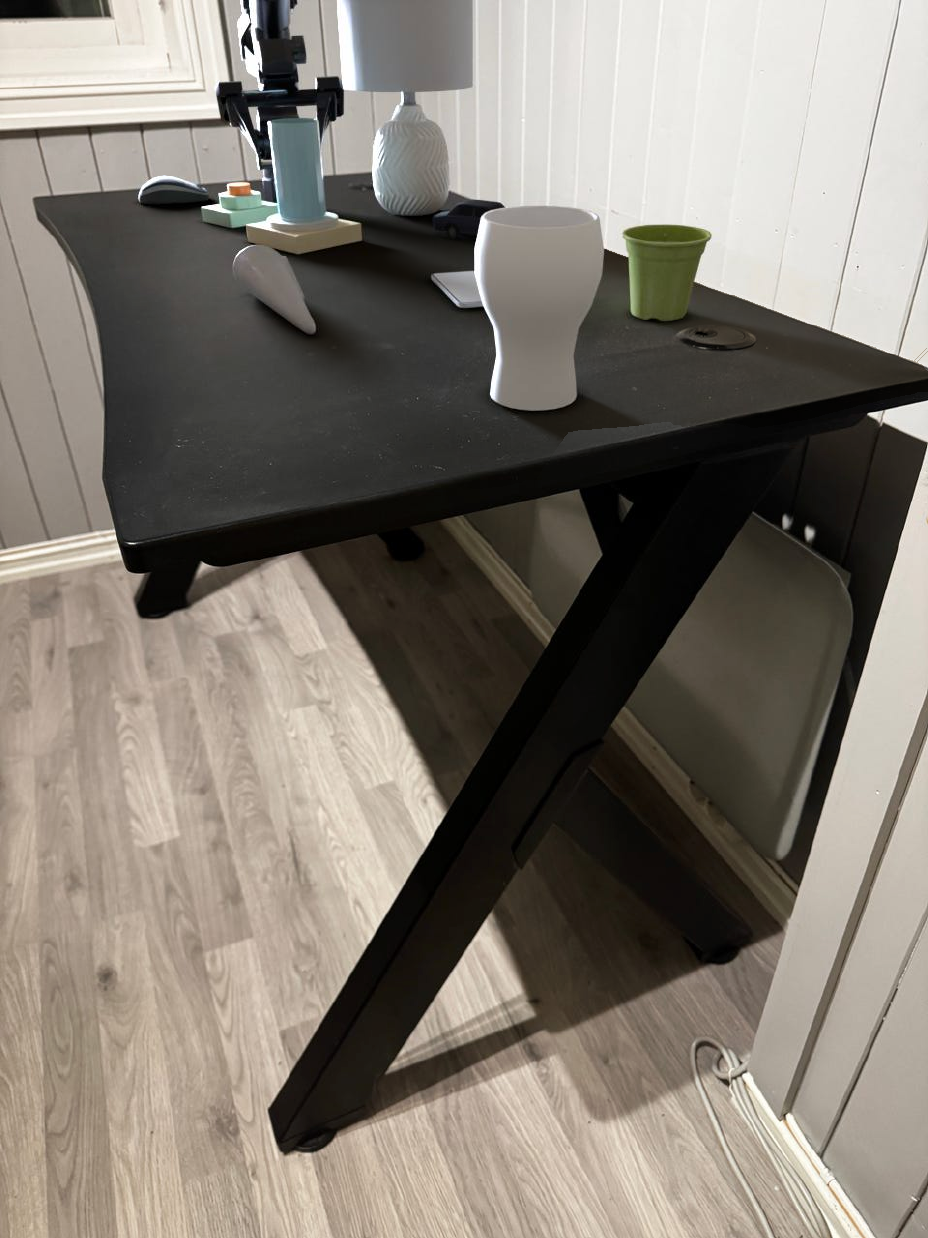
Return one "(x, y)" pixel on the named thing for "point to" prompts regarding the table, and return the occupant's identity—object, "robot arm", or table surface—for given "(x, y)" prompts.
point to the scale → (304, 233)
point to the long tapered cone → (273, 284)
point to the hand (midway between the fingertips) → (288, 150)
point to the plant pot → (663, 268)
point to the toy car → (464, 217)
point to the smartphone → (460, 287)
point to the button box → (239, 210)
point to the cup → (537, 298)
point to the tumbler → (297, 169)
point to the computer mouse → (171, 191)
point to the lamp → (408, 88)
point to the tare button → (239, 189)
